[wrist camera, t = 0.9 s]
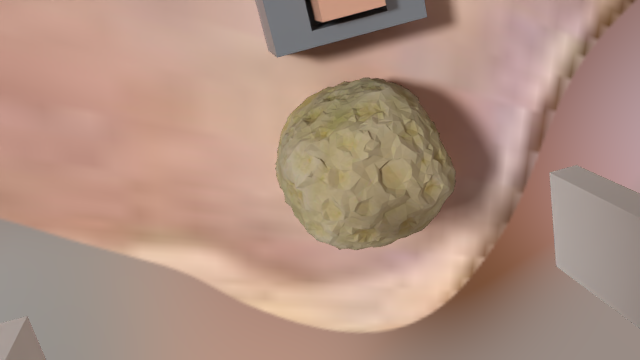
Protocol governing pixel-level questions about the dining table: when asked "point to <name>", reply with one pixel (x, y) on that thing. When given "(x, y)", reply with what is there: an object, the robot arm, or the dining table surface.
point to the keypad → (326, 23)
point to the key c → (341, 8)
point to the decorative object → (363, 164)
